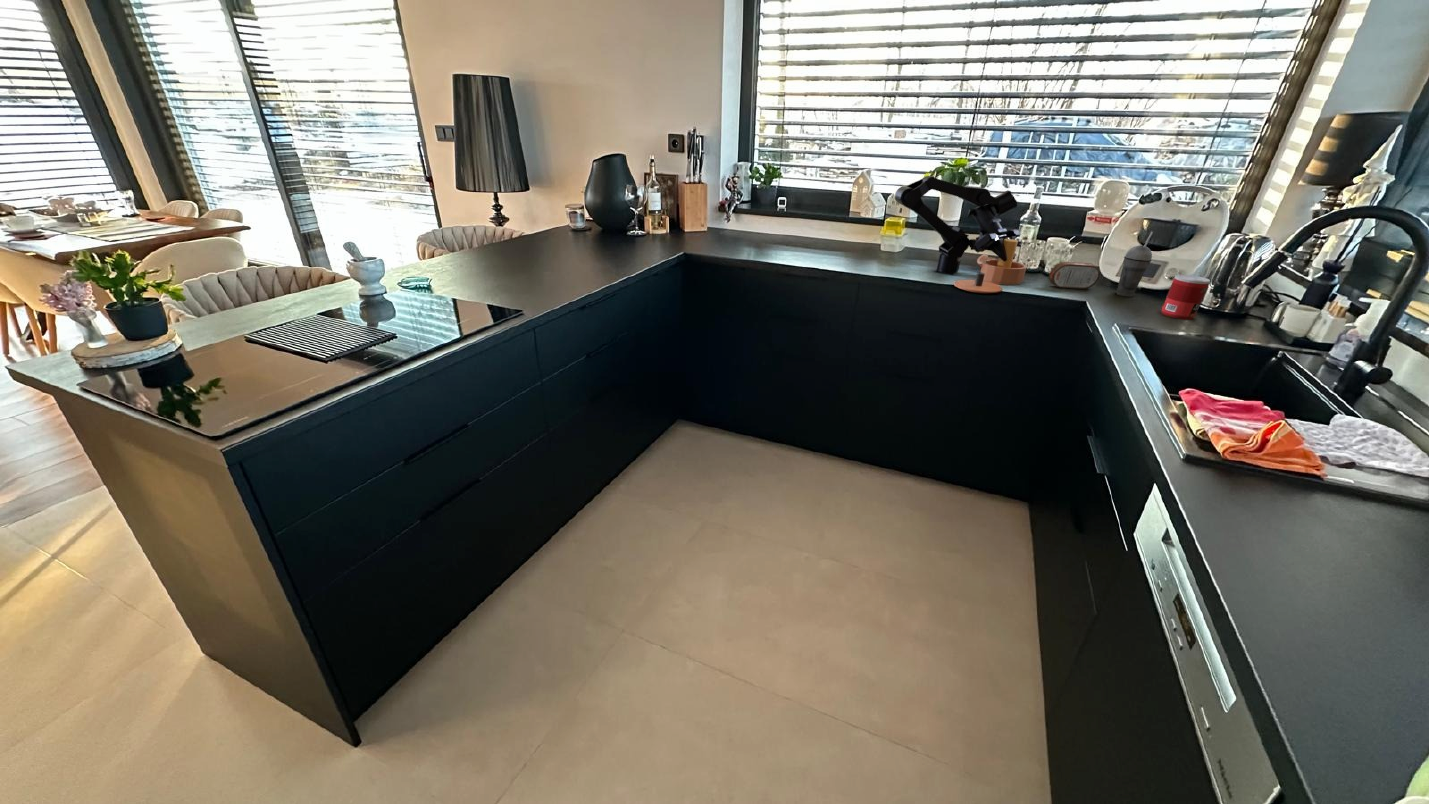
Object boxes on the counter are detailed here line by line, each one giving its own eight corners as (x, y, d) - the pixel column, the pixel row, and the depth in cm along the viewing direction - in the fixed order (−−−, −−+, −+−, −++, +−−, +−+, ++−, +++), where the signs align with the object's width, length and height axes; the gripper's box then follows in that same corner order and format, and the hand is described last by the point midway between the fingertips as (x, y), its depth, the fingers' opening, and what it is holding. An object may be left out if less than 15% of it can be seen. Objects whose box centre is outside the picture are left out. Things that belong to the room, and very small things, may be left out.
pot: (974, 280, 193) (978, 264, 190) (984, 272, 202) (988, 257, 200) (1017, 287, 185) (1021, 270, 183) (1025, 279, 195) (1030, 263, 192)
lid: (947, 289, 181) (951, 273, 179) (960, 280, 192) (964, 265, 189) (995, 297, 174) (999, 281, 171) (1006, 288, 184) (1010, 272, 182)
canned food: (1195, 321, 157) (1212, 283, 152) (1161, 316, 160) (1176, 278, 155) (1192, 314, 162) (1208, 277, 157) (1159, 309, 166) (1173, 273, 161)
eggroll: (992, 278, 193) (1002, 240, 187) (995, 275, 196) (1005, 238, 190) (1005, 280, 191) (1016, 242, 185) (1008, 278, 194) (1019, 240, 188)
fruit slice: (1000, 272, 204) (1003, 258, 202) (982, 271, 203) (986, 258, 201) (988, 266, 211) (992, 253, 209) (971, 266, 211) (974, 253, 208)
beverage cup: (1114, 290, 185) (1136, 228, 176) (1140, 294, 180) (1164, 231, 171) (1108, 294, 180) (1131, 230, 171) (1135, 299, 176) (1159, 234, 167)
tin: (1091, 287, 187) (1100, 262, 183) (1096, 290, 184) (1105, 264, 180) (1045, 285, 188) (1052, 260, 184) (1049, 288, 185) (1057, 262, 181)
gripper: (984, 233, 204) (1004, 269, 201) (953, 238, 195) (974, 276, 191) (1010, 214, 195) (1032, 252, 192) (979, 218, 185) (1002, 257, 182)
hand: (1009, 260), depth 189 cm, fingers closed on eggroll, 4 cm apart
